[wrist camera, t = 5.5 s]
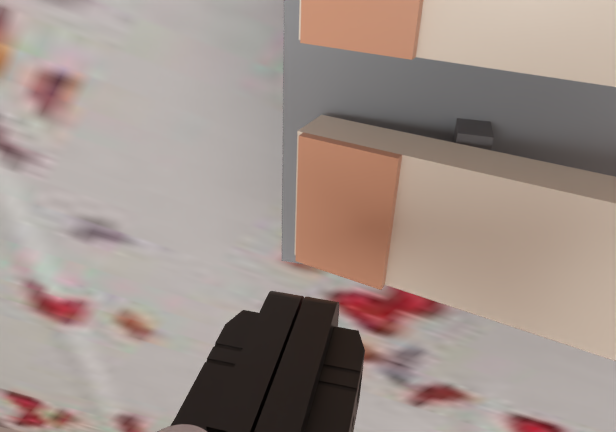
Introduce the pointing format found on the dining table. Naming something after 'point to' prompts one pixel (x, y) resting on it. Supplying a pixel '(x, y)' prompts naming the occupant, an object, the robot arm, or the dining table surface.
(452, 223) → the rocker
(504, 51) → the rocker
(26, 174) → the dining table surface
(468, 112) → the switch unit
